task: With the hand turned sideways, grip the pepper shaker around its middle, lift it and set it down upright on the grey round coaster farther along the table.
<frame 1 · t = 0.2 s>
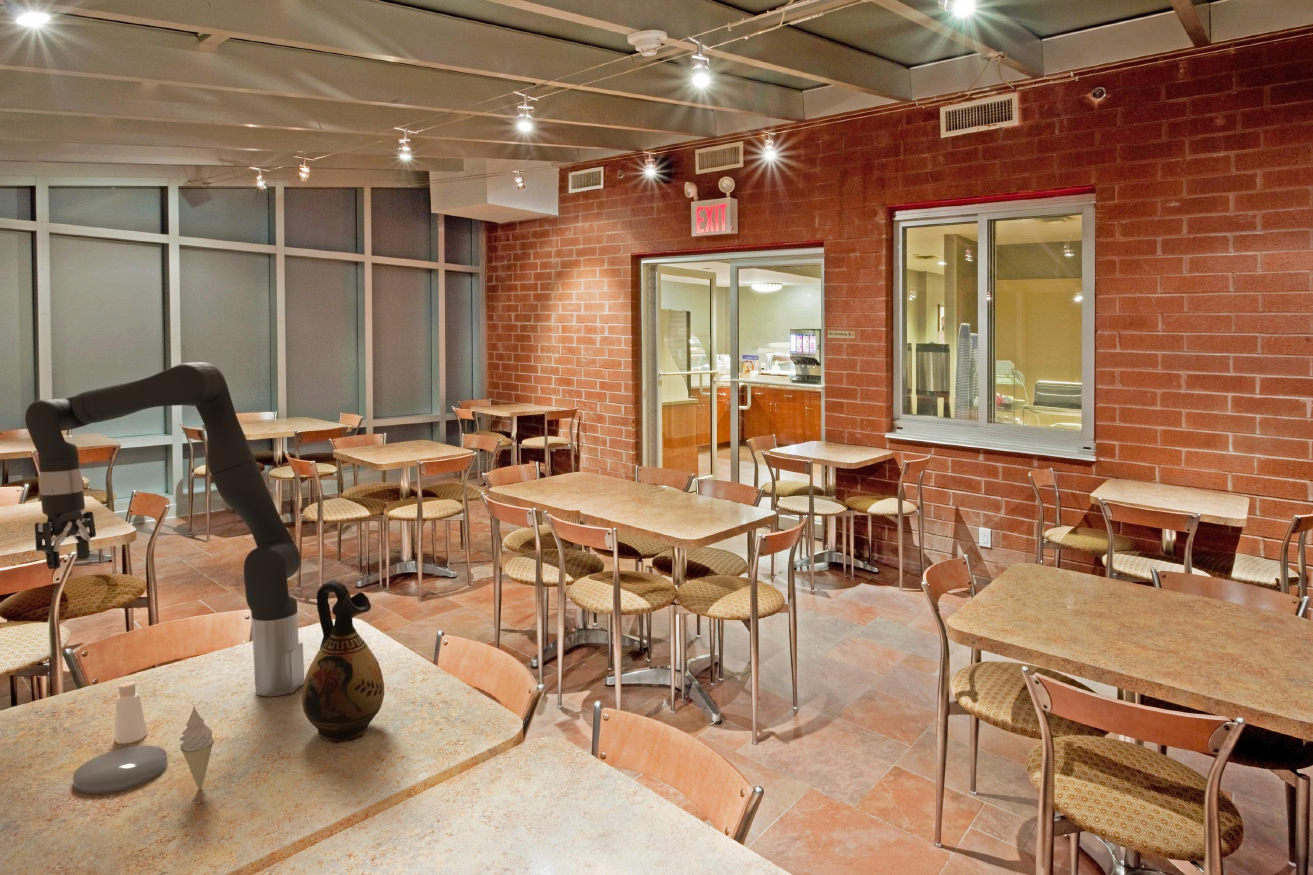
hand: (69, 563, 176), 29 cm above the table, tool pointing down, fingers open, 8 cm apart
pepper shaker: (131, 738, 157), on the table
ice cream cone: (200, 790, 139), on the table
grey round coaster: (121, 772, 144), on the table
ceramic jug: (342, 730, 161), on the table
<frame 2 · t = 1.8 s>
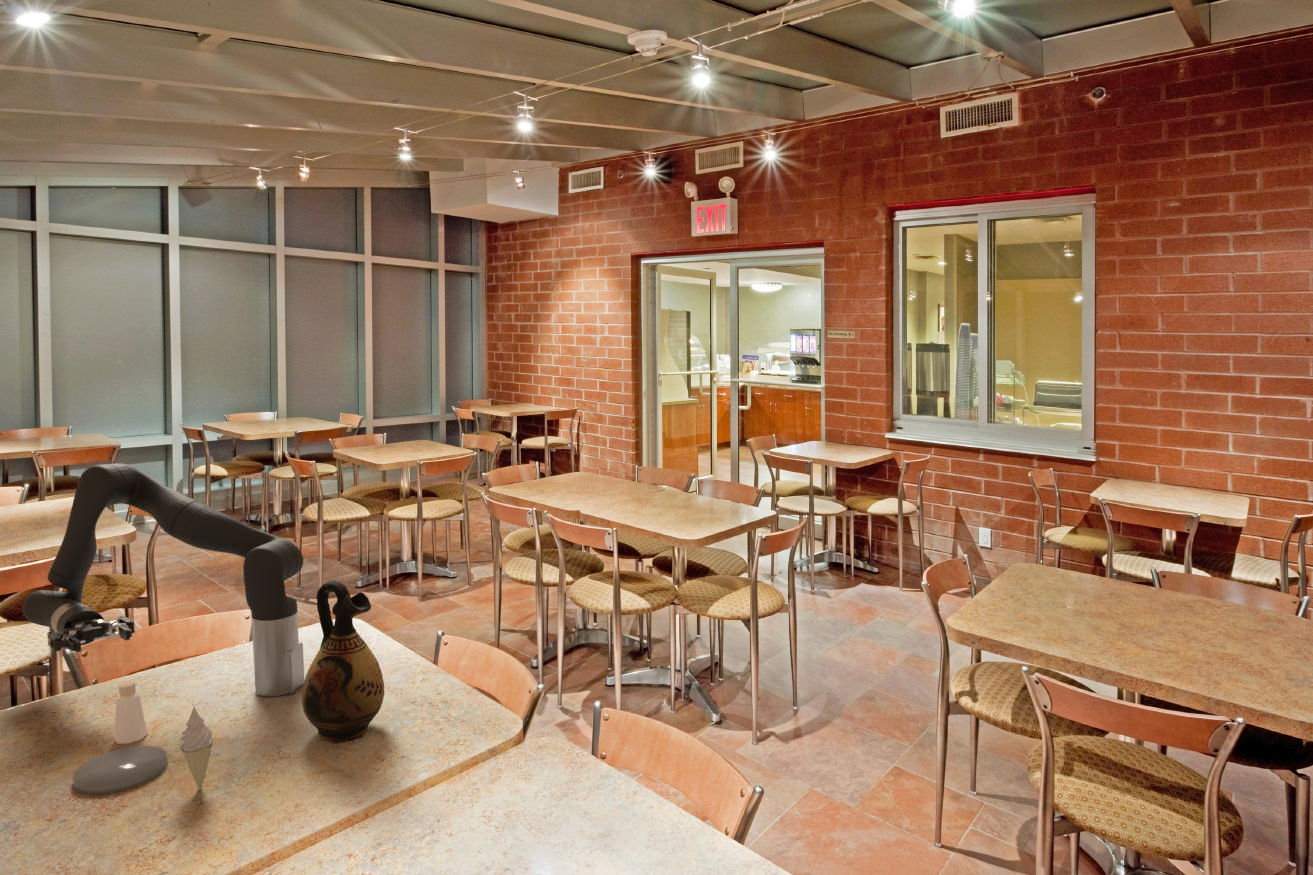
hand: (104, 641, 162), 17 cm above the table, tool horizontal, fingers open, 8 cm apart
nothing on the table moved.
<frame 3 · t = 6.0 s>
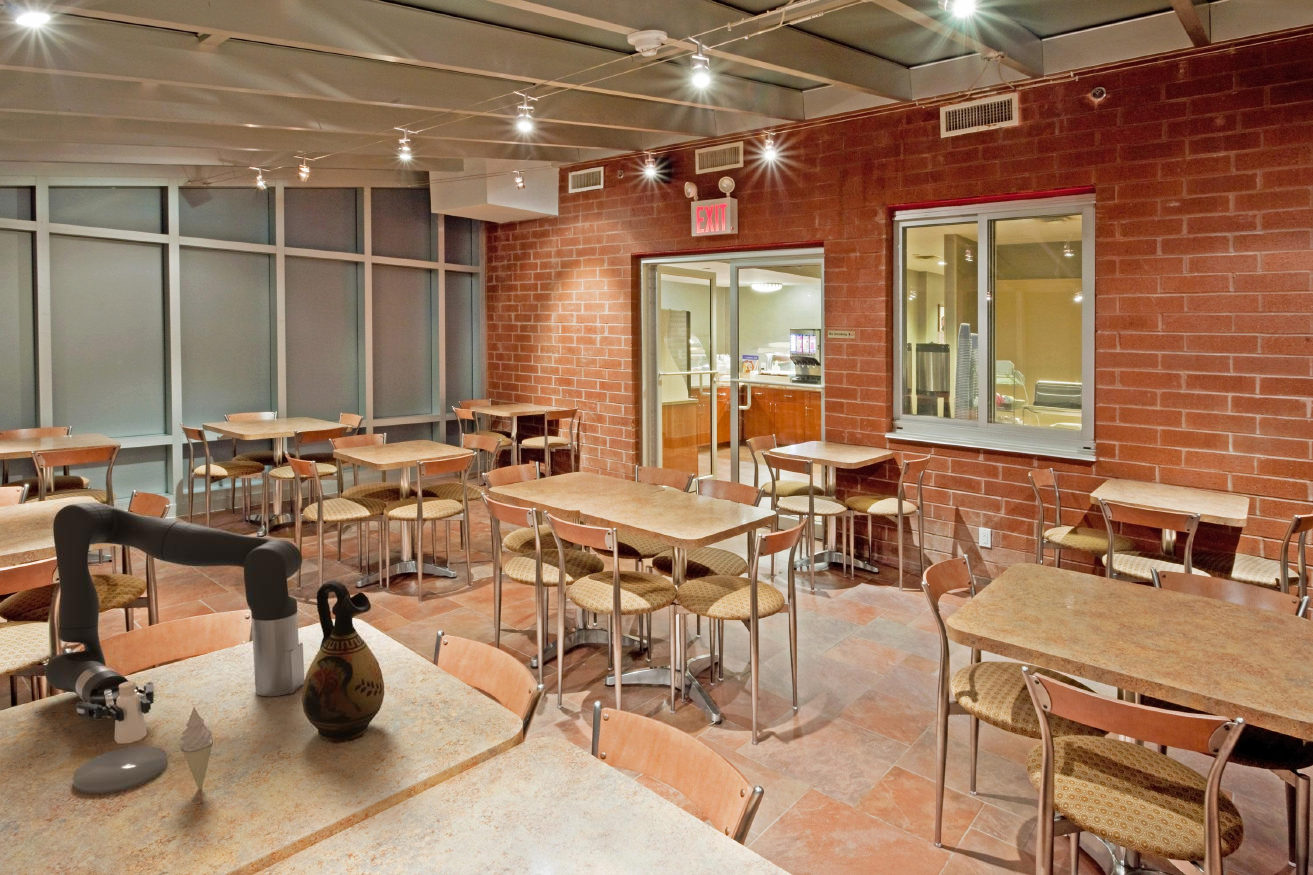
hand: (134, 711, 155), 6 cm above the table, tool horizontal, fingers closed on pepper shaker, 3 cm apart
pepper shaker: (131, 738, 157), on the table, touching gripper
everything else where it was.
when the fingers open (9 cm above the table, at t = 10.8 s): pepper shaker drops 1 cm, resting on grey round coaster.
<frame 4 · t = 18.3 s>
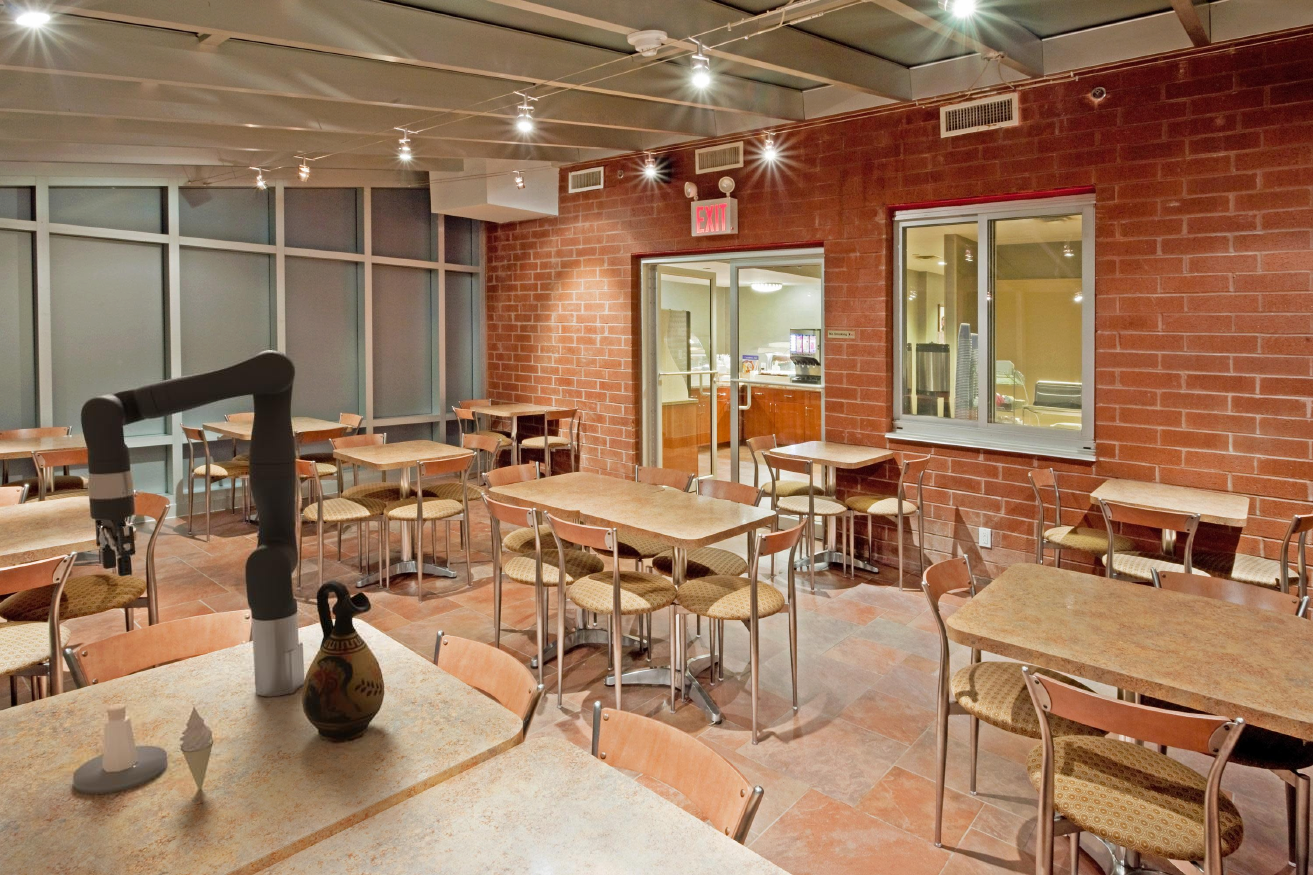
hand: (117, 571, 165), 30 cm above the table, tool pointing down, fingers open, 8 cm apart
pepper shaker: (120, 765, 144), point 1 cm above the table, touching grey round coaster
everything else where it was.
at the end: pepper shaker inside the target area on the grey round coaster (0.1 cm from its centre), point 1.3 cm above the grey round coaster's base; pepper shaker tilted 0°; the gripper is holding nothing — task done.
